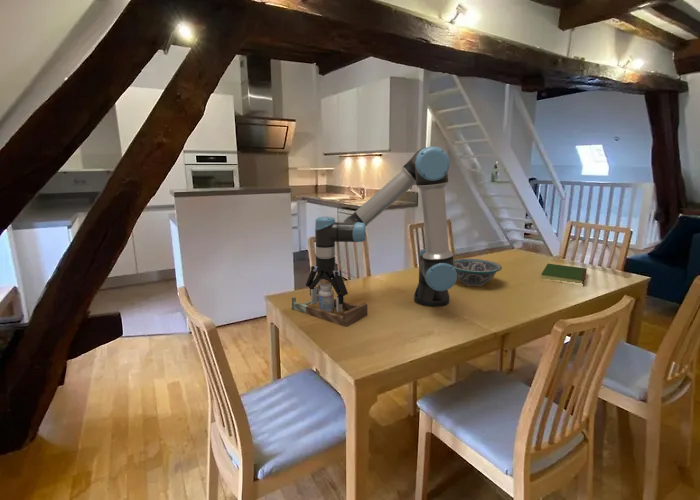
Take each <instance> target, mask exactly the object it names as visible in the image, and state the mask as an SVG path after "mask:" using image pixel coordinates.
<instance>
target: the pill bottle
mask: <svg viewBox="0 0 700 500" xmlns="http://www.w3.org/2000/svg"><path fill="white" fill-rule="evenodd" d="M320 288H321V290H320V291H319V303H318V309H320V310H323V311H327V312H330V313H334V311H335V307H334V299H335V294H334V293H335V292H334V289H333V286H332V285H331V283H321V285H320Z"/></svg>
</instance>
